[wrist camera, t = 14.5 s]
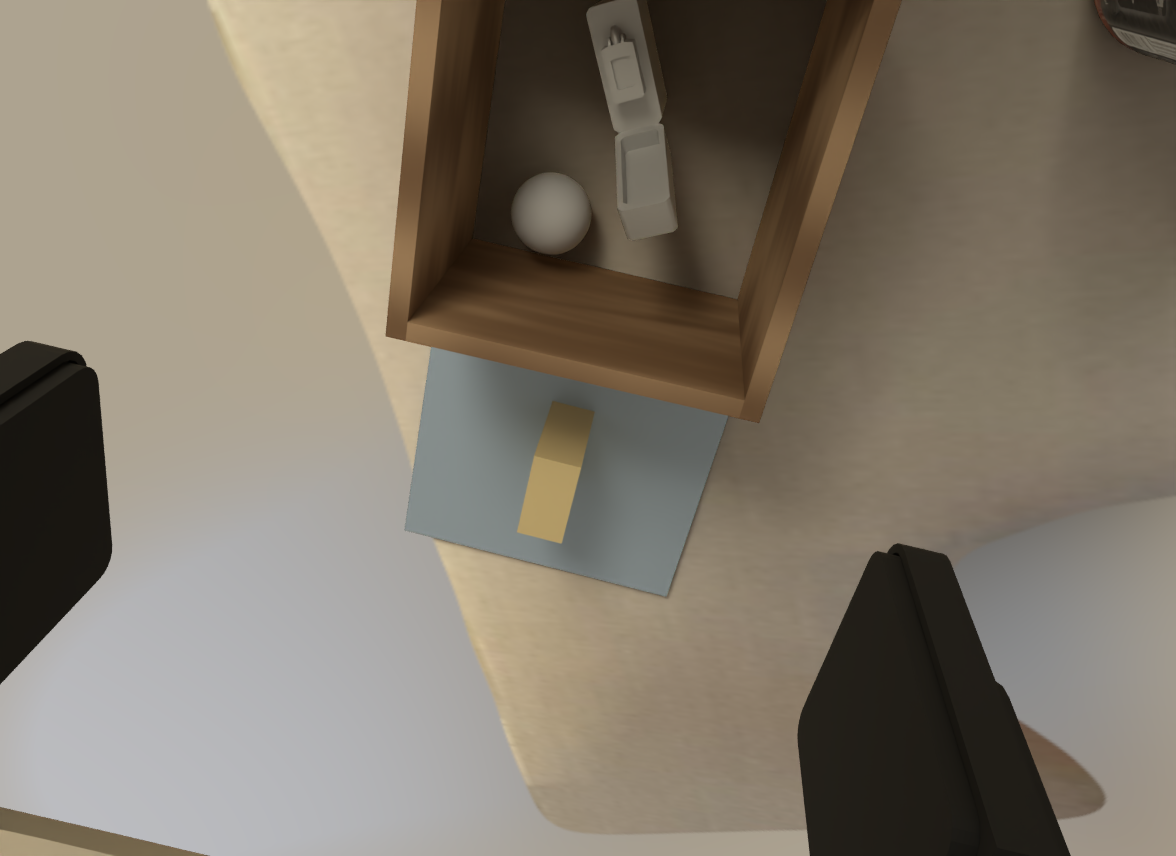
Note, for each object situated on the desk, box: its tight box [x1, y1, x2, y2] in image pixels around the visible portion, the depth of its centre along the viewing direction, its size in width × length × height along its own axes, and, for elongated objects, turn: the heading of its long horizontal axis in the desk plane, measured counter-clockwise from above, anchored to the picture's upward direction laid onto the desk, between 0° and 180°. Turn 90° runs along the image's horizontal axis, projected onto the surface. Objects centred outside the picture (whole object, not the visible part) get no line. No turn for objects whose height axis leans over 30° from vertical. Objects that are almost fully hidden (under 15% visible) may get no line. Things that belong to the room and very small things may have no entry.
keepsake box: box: [386, 0, 902, 423], centre depth 31 cm, size 14×13×10 cm
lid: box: [405, 347, 728, 596], centre depth 41 cm, size 15×14×6 cm
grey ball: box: [511, 172, 591, 255], centre depth 36 cm, size 3×3×3 cm
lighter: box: [586, 0, 678, 241], centre depth 32 cm, size 7×2×8 cm, turn 15°
